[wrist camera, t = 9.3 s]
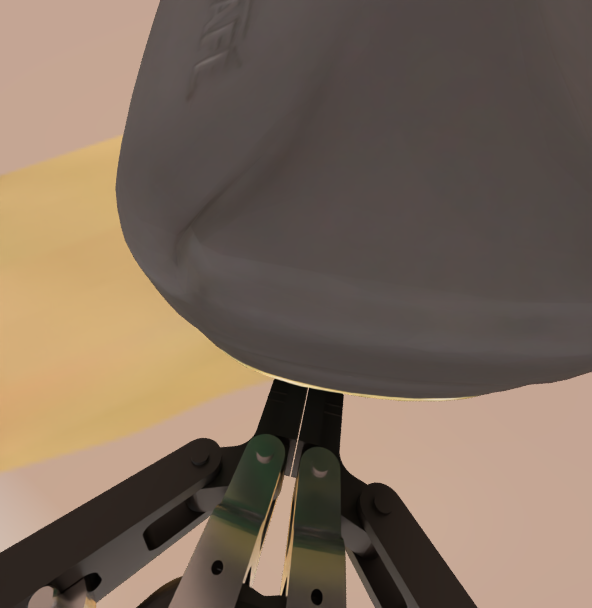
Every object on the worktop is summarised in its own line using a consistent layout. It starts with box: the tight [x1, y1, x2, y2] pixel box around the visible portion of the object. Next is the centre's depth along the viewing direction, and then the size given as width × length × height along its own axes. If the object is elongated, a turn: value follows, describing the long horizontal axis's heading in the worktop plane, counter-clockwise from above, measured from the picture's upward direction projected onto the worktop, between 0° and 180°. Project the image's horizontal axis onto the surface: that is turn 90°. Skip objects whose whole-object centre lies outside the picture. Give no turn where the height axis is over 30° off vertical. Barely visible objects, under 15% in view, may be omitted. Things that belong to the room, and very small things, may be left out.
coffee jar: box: [116, 0, 592, 401], centre depth 12 cm, size 10×8×19 cm
